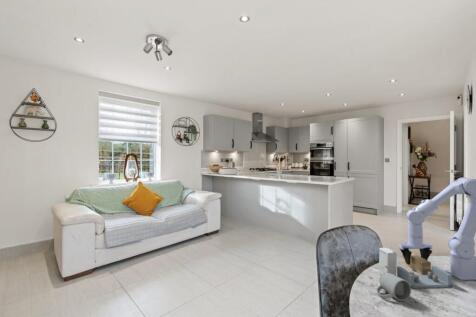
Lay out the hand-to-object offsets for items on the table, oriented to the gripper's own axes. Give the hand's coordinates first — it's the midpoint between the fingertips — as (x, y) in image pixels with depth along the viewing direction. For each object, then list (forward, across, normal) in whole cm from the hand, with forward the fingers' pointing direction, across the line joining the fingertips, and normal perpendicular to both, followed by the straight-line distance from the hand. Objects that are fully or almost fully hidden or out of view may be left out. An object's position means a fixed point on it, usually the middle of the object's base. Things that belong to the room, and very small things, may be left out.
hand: (415, 263), depth 110 cm
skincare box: (+3, +18, +7) cm, 19 cm away
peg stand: (+2, +6, +12) cm, 14 cm away
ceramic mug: (+3, +25, +21) cm, 33 cm away
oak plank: (+3, 0, 0) cm, 3 cm away
